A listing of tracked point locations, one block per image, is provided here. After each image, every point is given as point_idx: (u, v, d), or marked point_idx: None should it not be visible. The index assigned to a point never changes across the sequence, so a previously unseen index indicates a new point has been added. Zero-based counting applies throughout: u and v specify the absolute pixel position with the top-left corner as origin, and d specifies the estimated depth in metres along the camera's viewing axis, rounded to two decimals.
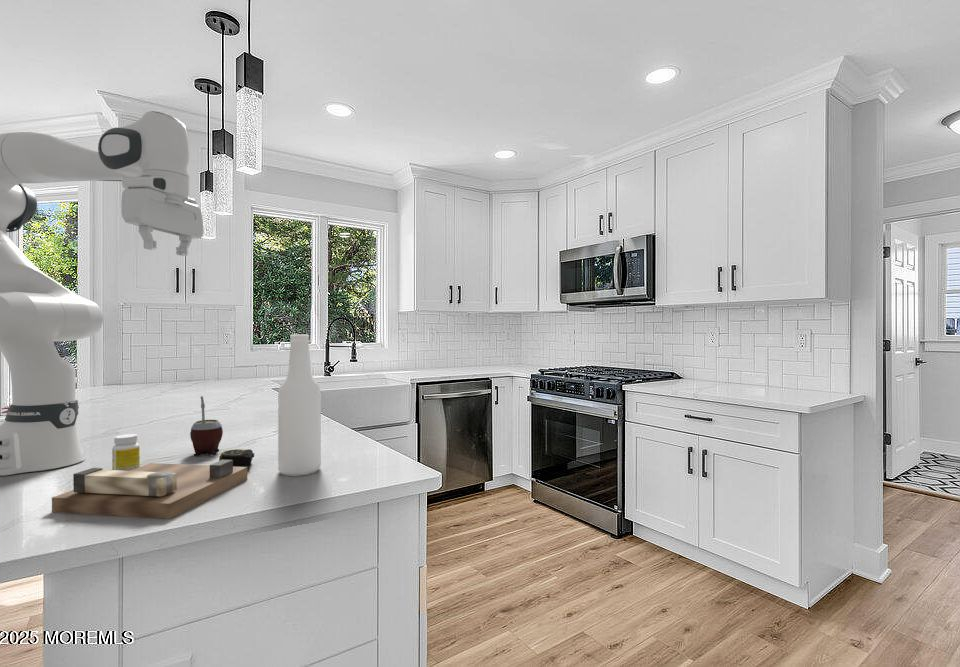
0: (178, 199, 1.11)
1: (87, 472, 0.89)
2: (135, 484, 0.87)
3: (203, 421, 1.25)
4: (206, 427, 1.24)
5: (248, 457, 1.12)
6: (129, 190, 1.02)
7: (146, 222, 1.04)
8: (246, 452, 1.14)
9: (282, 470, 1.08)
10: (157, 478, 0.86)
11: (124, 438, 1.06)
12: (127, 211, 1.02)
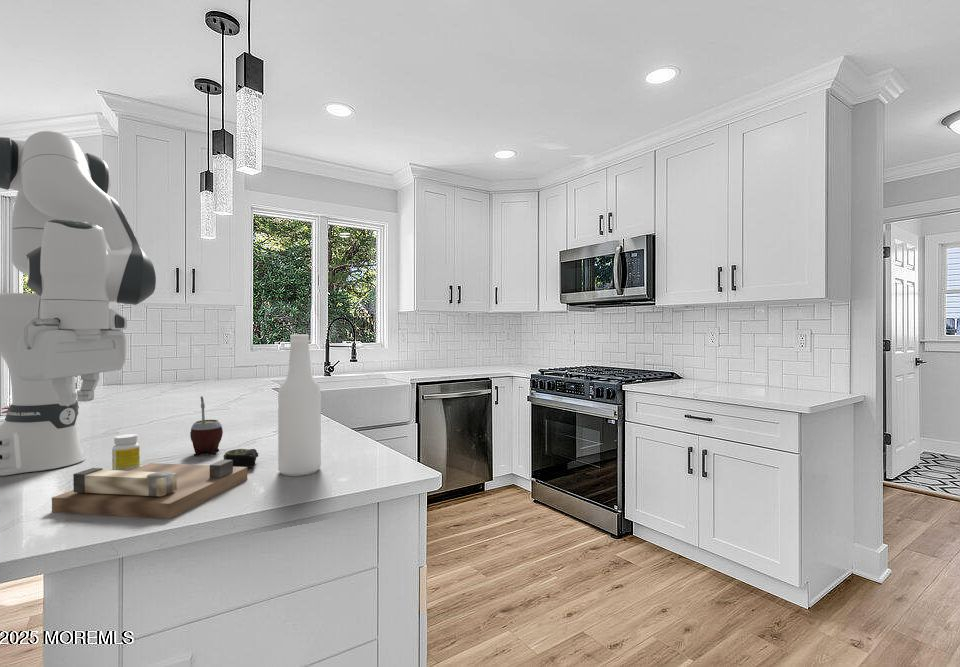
0: None
1: (87, 472, 0.89)
2: (135, 484, 0.87)
3: (203, 421, 1.25)
4: (206, 427, 1.24)
5: (252, 457, 1.12)
6: None
7: None
8: (250, 452, 1.15)
9: (282, 470, 1.08)
10: (157, 478, 0.86)
11: (124, 438, 1.06)
12: None
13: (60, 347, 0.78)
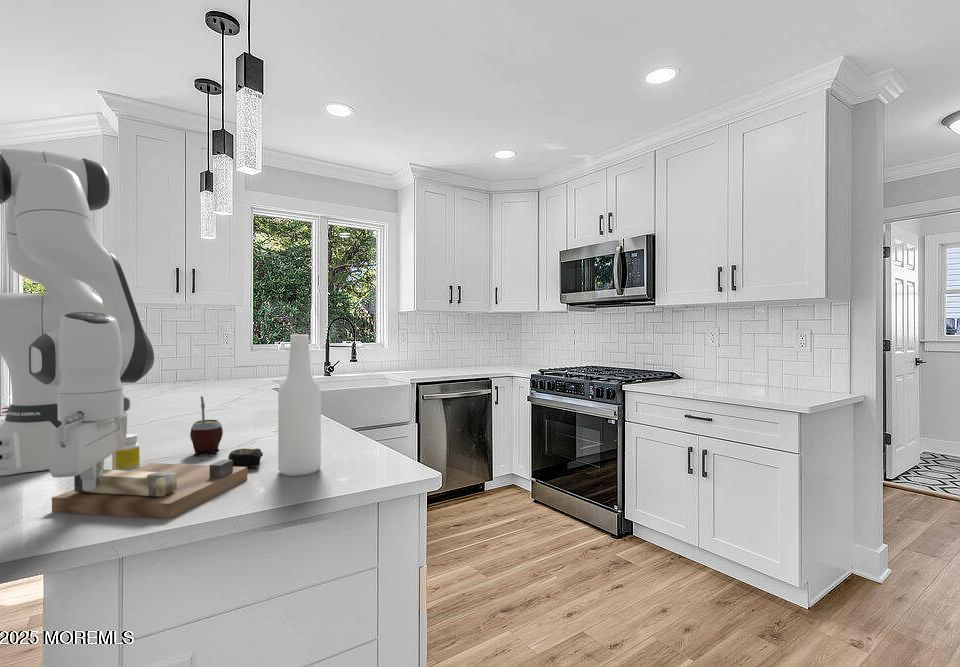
0: None
1: None
2: (135, 484, 0.87)
3: (203, 421, 1.25)
4: (206, 427, 1.24)
5: (257, 456, 1.13)
6: None
7: None
8: (255, 451, 1.15)
9: (282, 470, 1.08)
10: (157, 478, 0.86)
11: None
12: None
13: (86, 440, 0.81)
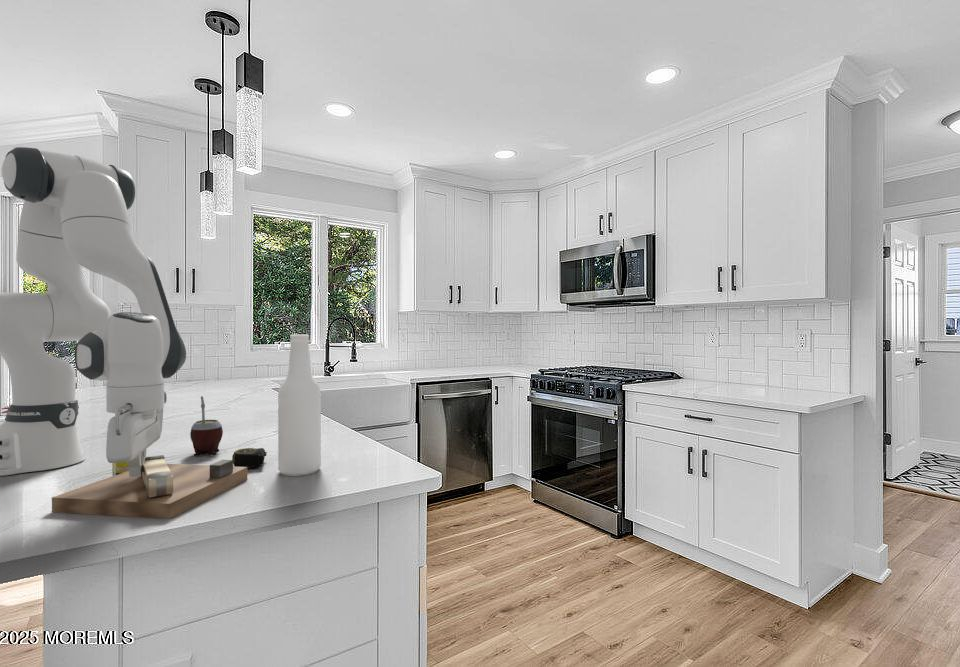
0: None
1: (148, 458, 0.98)
2: (146, 479, 0.90)
3: (203, 421, 1.25)
4: (206, 427, 1.24)
5: (261, 456, 1.13)
6: None
7: None
8: (259, 451, 1.15)
9: (282, 470, 1.08)
10: (149, 478, 0.86)
11: None
12: None
13: (136, 429, 0.89)
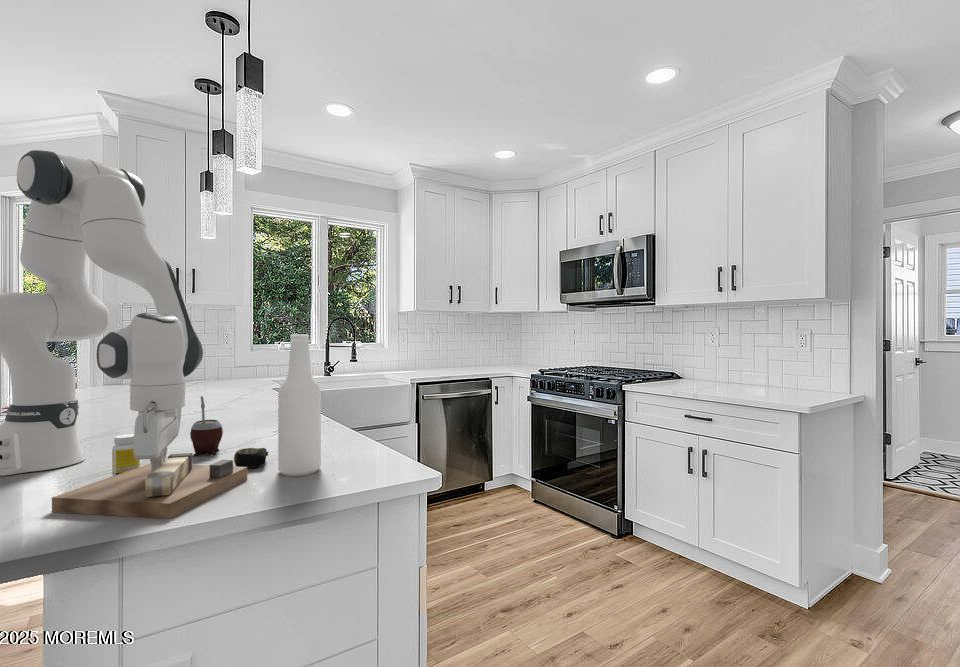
0: None
1: (175, 455, 1.01)
2: None
3: (203, 421, 1.25)
4: (206, 427, 1.24)
5: (263, 455, 1.13)
6: None
7: None
8: (260, 450, 1.16)
9: (282, 470, 1.08)
10: (147, 477, 0.87)
11: (124, 438, 1.06)
12: None
13: (160, 427, 0.91)
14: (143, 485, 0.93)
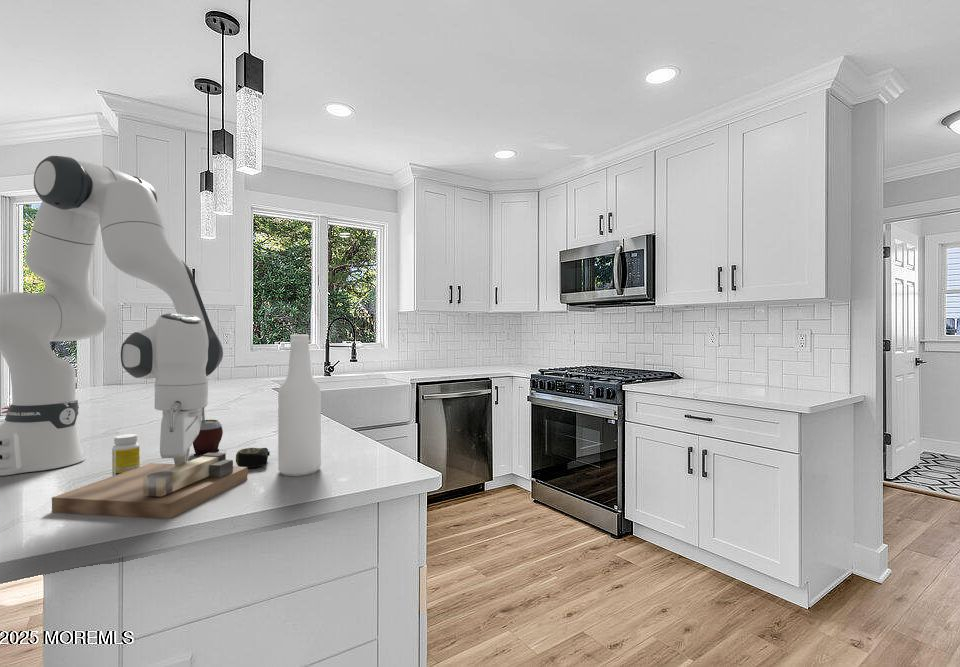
0: None
1: (208, 454, 1.02)
2: None
3: (203, 421, 1.25)
4: (206, 427, 1.24)
5: (264, 455, 1.14)
6: None
7: None
8: (262, 450, 1.16)
9: (282, 470, 1.08)
10: (147, 476, 0.88)
11: (124, 438, 1.06)
12: None
13: None
14: None
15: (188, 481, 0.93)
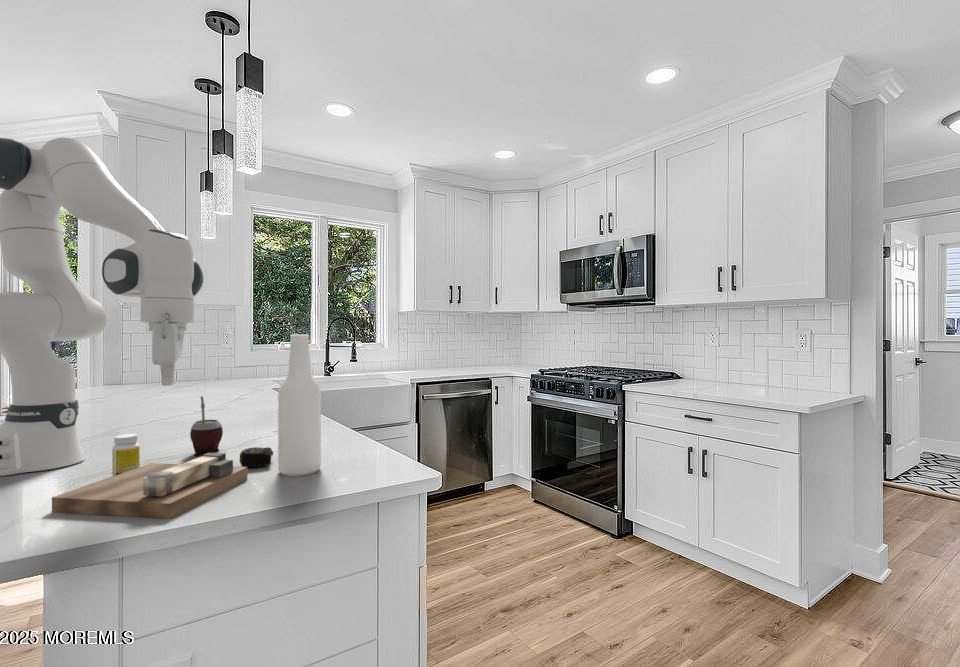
0: (148, 325, 0.97)
1: (208, 454, 1.02)
2: None
3: (203, 421, 1.25)
4: (206, 427, 1.24)
5: (268, 455, 1.14)
6: None
7: None
8: (266, 450, 1.16)
9: (282, 470, 1.08)
10: (147, 476, 0.88)
11: (124, 438, 1.06)
12: None
13: None
14: None
15: (188, 481, 0.93)
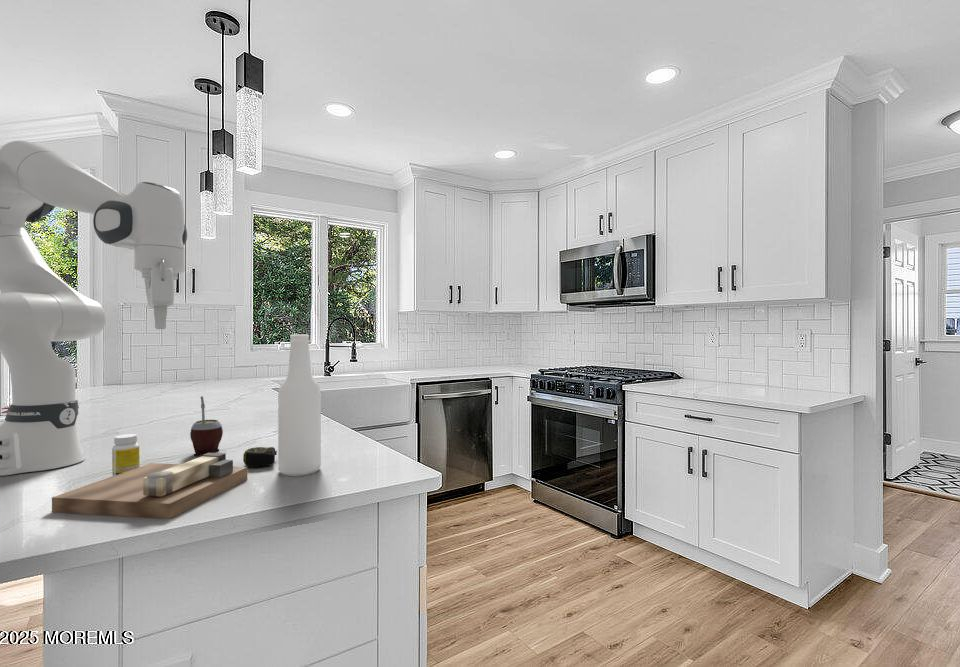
0: (142, 273, 1.04)
1: (208, 454, 1.02)
2: None
3: (203, 421, 1.25)
4: (206, 427, 1.24)
5: (272, 454, 1.14)
6: None
7: (149, 306, 1.11)
8: (269, 450, 1.16)
9: (282, 470, 1.08)
10: (147, 476, 0.88)
11: (124, 438, 1.06)
12: None
13: None
14: None
15: (188, 481, 0.93)
